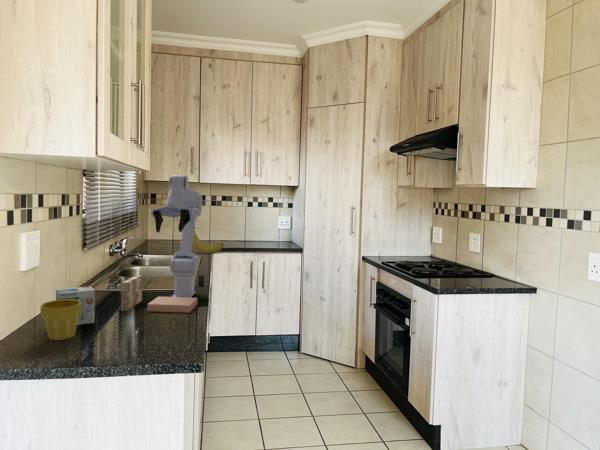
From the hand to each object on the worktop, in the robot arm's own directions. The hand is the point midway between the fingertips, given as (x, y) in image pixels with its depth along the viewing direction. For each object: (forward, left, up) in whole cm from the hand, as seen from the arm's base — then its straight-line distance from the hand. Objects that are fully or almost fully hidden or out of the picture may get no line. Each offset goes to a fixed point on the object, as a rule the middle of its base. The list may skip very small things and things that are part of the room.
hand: (168, 230), depth 153 cm
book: (-10, -1, -30) cm, 31 cm away
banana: (-155, -20, -30) cm, 159 cm away
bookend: (-11, -16, -29) cm, 35 cm away
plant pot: (+26, -23, -30) cm, 46 cm away
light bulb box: (+12, -26, -30) cm, 41 cm away
